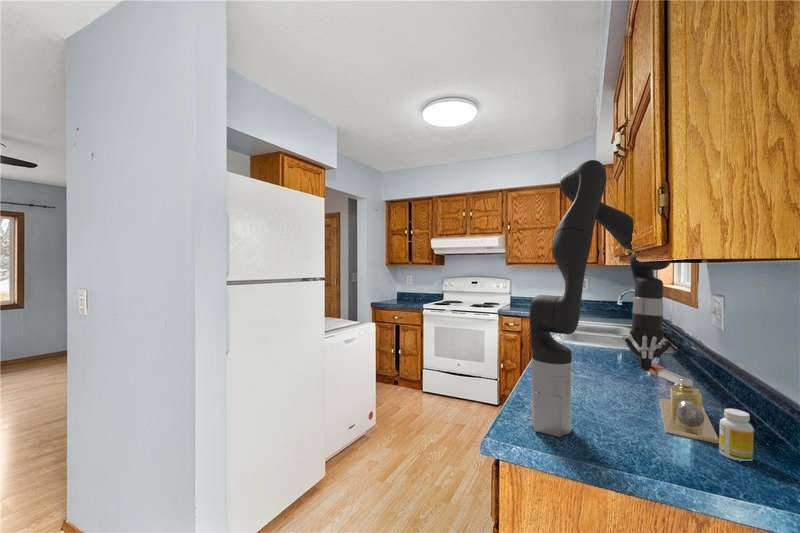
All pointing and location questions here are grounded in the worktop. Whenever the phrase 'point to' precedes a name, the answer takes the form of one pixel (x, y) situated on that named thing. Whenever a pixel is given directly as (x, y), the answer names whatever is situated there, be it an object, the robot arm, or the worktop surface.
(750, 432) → the supplement bottle
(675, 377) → the valve lever
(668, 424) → the valve rig
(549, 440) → the worktop surface
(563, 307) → the robot arm
